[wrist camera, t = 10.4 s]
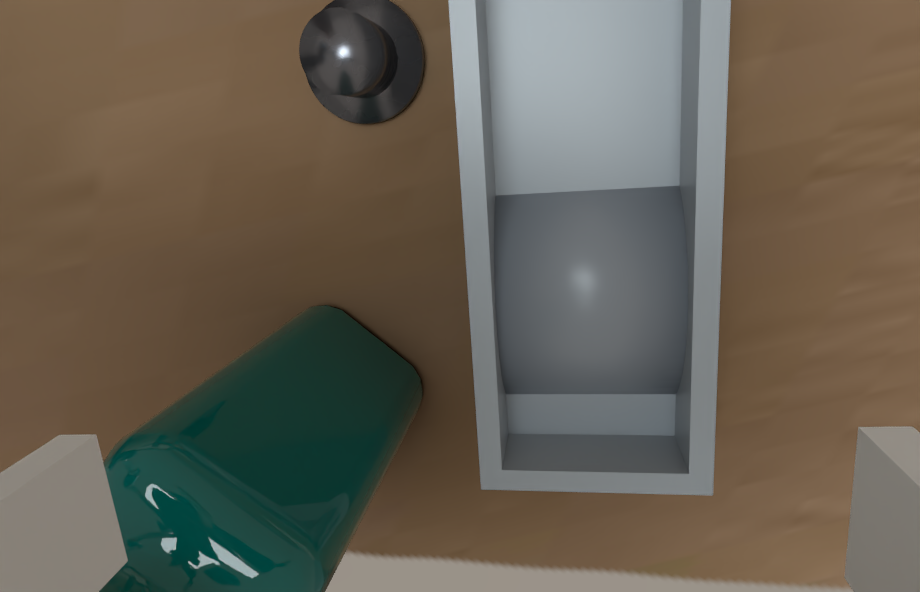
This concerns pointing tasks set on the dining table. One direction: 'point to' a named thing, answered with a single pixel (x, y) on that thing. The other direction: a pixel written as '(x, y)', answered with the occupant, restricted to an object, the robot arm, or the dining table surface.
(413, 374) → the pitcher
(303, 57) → the tee
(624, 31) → the lane
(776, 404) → the dining table surface
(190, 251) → the dining table surface
